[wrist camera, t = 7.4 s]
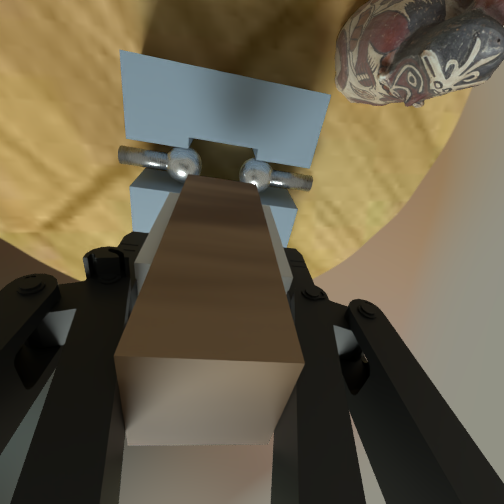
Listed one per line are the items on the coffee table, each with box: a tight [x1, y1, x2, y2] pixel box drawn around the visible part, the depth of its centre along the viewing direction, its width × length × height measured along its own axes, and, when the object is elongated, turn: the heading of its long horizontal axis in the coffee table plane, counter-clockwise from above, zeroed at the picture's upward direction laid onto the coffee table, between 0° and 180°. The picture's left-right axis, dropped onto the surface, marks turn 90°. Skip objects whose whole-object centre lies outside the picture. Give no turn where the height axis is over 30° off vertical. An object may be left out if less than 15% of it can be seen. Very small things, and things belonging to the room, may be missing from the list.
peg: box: [114, 174, 305, 446], centre depth 12 cm, size 4×4×12 cm
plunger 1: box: [118, 146, 202, 183], centre depth 22 cm, size 3×6×3 cm, turn 80°
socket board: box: [120, 50, 331, 248], centre depth 24 cm, size 18×14×5 cm
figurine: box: [335, 0, 504, 107], centre depth 17 cm, size 7×7×12 cm
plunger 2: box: [239, 157, 313, 193], centre depth 24 cm, size 3×6×3 cm, turn 80°
